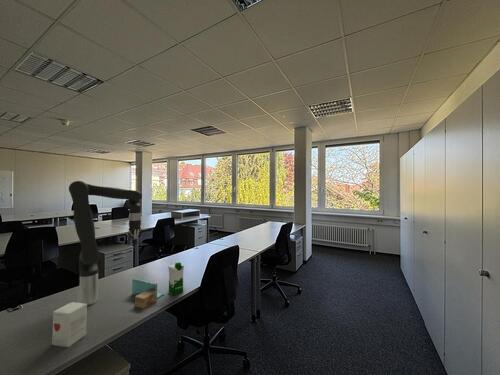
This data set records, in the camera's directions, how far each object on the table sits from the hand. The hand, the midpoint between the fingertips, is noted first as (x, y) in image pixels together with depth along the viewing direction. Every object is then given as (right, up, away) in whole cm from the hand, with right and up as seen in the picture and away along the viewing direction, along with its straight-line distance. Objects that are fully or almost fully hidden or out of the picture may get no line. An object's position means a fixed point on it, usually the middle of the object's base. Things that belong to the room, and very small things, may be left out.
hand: (134, 244), depth 150 cm
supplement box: (-3, -31, -50) cm, 59 cm away
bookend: (+12, -32, -6) cm, 35 cm away
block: (+16, -32, -17) cm, 40 cm away
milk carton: (+29, -33, -2) cm, 44 cm away
